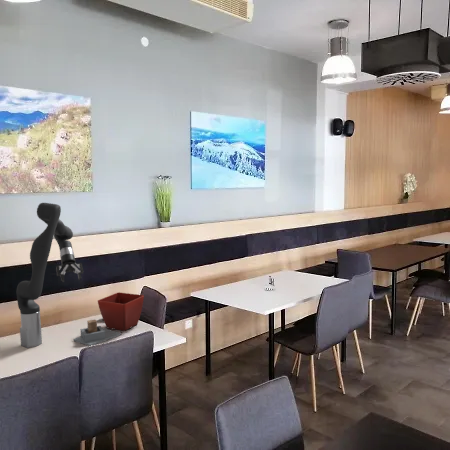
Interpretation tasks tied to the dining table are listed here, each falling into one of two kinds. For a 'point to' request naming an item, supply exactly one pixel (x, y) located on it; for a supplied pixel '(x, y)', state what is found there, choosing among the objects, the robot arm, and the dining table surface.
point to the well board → (107, 335)
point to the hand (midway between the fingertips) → (71, 280)
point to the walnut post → (92, 326)
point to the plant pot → (121, 310)
